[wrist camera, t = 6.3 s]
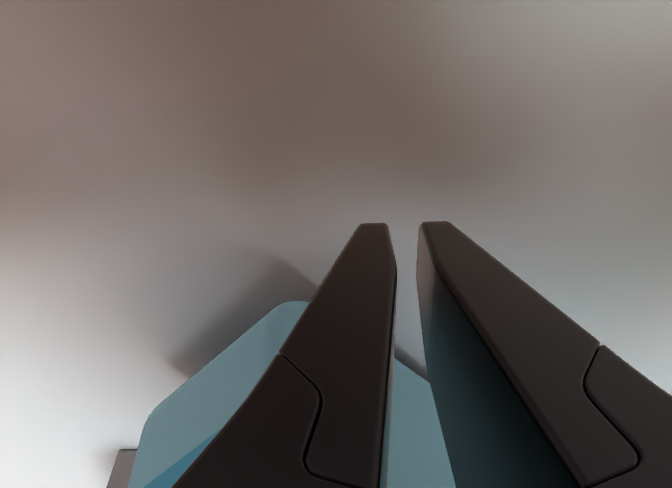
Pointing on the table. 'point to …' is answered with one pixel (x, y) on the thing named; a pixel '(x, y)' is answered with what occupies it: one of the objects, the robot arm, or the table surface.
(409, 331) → the table surface
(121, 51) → the table surface
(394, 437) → the data package
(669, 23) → the table surface
